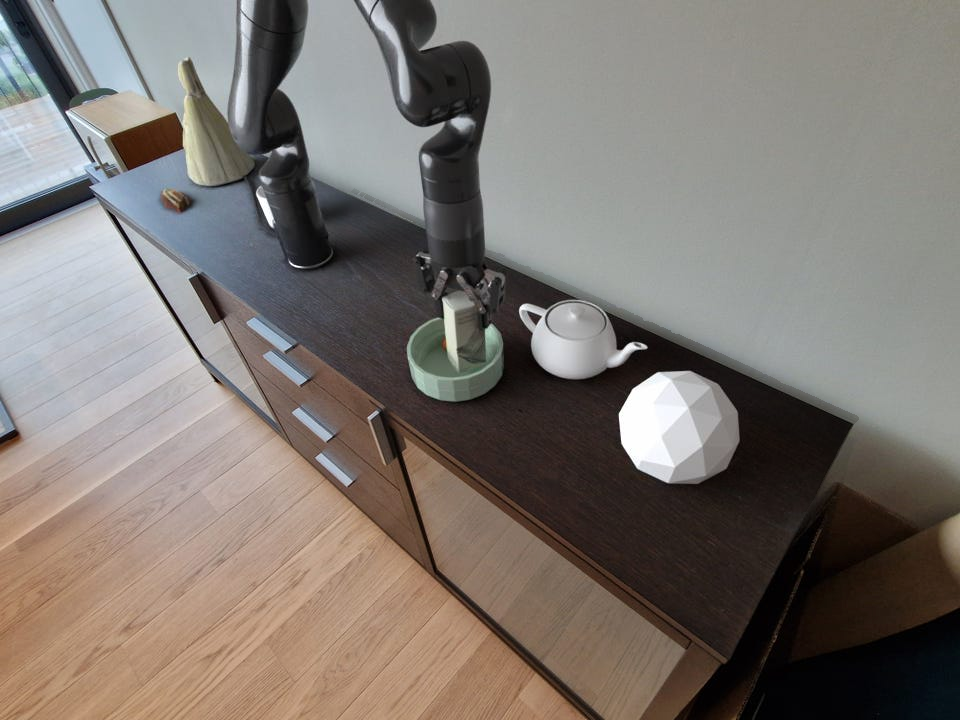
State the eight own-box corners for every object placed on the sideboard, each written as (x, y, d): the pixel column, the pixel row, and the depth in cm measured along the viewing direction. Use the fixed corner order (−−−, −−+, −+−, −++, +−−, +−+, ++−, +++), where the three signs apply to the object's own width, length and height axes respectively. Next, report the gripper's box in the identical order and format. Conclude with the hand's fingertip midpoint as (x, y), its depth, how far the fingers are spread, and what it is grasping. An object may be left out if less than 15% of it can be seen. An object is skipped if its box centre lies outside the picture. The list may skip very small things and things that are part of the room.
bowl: (394, 385, 86) (388, 361, 82) (441, 328, 95) (438, 304, 91) (476, 416, 80) (474, 392, 76) (518, 353, 89) (518, 328, 86)
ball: (440, 352, 90) (438, 341, 88) (447, 342, 91) (446, 331, 89) (453, 356, 89) (452, 345, 87) (460, 347, 90) (459, 335, 88)
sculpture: (212, 150, 153) (205, 45, 131) (266, 182, 153) (269, 82, 131) (167, 174, 142) (151, 64, 120) (225, 208, 142) (220, 105, 120)
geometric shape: (641, 494, 75) (588, 458, 66) (658, 398, 81) (611, 352, 71) (748, 508, 65) (704, 468, 56) (760, 398, 71) (721, 344, 61)
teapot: (498, 358, 89) (496, 309, 81) (540, 314, 96) (542, 265, 89) (618, 415, 79) (629, 365, 71) (655, 361, 86) (668, 310, 79)
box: (459, 375, 83) (452, 313, 74) (447, 358, 86) (439, 296, 77) (488, 363, 85) (485, 301, 76) (476, 347, 88) (471, 285, 78)
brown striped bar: (150, 197, 137) (147, 191, 136) (171, 189, 140) (168, 183, 139) (177, 214, 130) (173, 207, 129) (197, 205, 133) (194, 198, 132)
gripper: (517, 219, 67) (517, 319, 79) (422, 198, 72) (435, 295, 84) (491, 250, 63) (495, 351, 74) (391, 225, 68) (410, 323, 80)
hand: (463, 321), depth 79 cm, fingers closed on box, 6 cm apart
